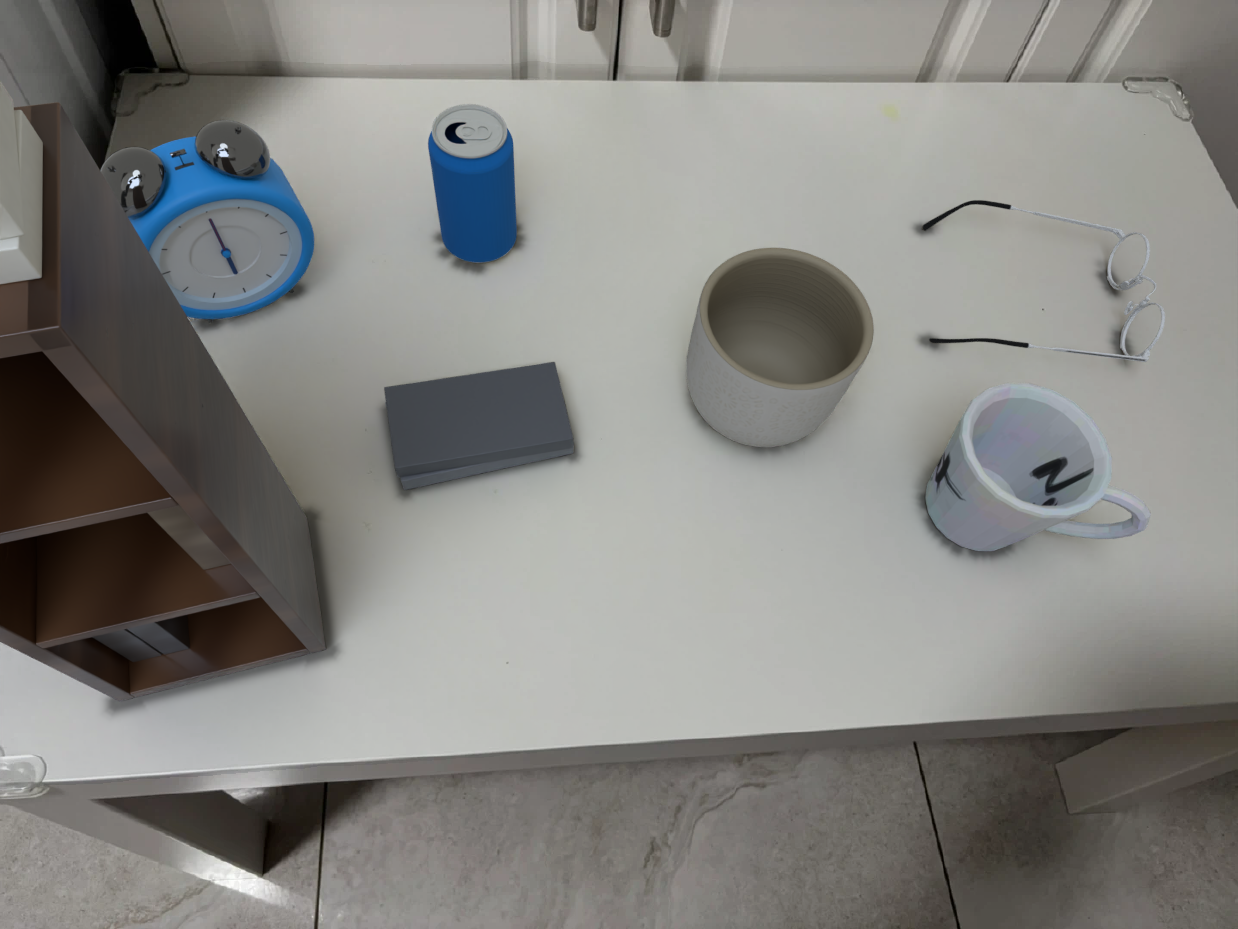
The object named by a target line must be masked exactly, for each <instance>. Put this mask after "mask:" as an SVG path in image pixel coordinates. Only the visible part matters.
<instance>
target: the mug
mask: <svg viewBox="0 0 1238 929" xmlns="http://www.w3.org/2000/svg"><path fill="white" fill-rule="evenodd" d="M1112 469H1113V457H1112V454H1111V450H1110V448H1109V445H1108V442H1107V439H1106V437H1105V435H1104V434H1103V432H1102V431H1101V428H1099V426H1098V425H1097V423H1096V422H1095V420H1094V418H1093V417H1092V416H1091V415H1089V414H1088V413H1087V411H1085V410H1084V409H1082V407H1081V406H1080V405H1078V403H1076V402H1075V401H1074V400H1072V399H1070V398H1069V397H1067V396H1065V395H1063V394H1061V393H1059V392H1058V391H1056V390H1054V389H1051V388H1048V387H1044V386H1041V385H1038V384H1034V383H1031V382H1005V383H1002V384H999V385H995V386H991V387H988V388H986V389H984V390H983V391H982V392H980V393H979V394H978V395H977V396H975V397H974V398H973V399H971V400H970V402H969V403H968V404H967V407H966V408H965V410H964V412H963V414H962V415H961V418H960V420H959V421H958V423H957V425H956V427H955V429H954V431H953V433H952V435H951V437H950V438H949V441H948V443H947V444H946V446H945V448H944V450H943V453H942V454H941V457H940V458H939V460H938V463H937V464H936V466H935V468H934V470H933V472H932V474H931V475H930V478H929V480H928V482H927V483H926V490H925V503H926V510H927V514H928V515H929V517H930V519H931V521H932V522H933V525H934V526H935V527H936V529H937V530H938V531H940V533H942V535H943V536H945V538H947V539H948V540H949V541H951V542H953V543H954V544H956V545H958V546H959V547H961V548H966V549H969V550H972V551H975V552H994V551H997V550H1000V549H1003V548H1006V547H1009V546H1011V545H1013V544H1015V543H1016V544H1017V543H1018V542H1021V541H1022V540H1025V539H1027V538H1029V537H1032V536H1034V535H1036V534H1038V533H1041V532H1043V531H1046V532H1050V533H1053V534H1057V535H1063V536H1068V537H1075V538H1080V539H1081V538H1082V539H1093V540H1094V539H1095V540H1115V539H1117V540H1118V539H1123V538H1127V537H1132V536H1134V535H1137V534H1139V533H1142V532H1144V531H1145V530H1146V529H1147V527H1148V525H1149V522H1150V518H1151V516H1152V514H1151V510H1150V509H1149V507H1148V506H1147V504H1146V503H1145V502H1144V500H1143V499H1141V498H1140V497H1139V496H1137V495H1135V494H1134V493H1132V492H1130V491H1128V490H1125V489H1124V488H1120V487H1117V486H1115V485H1111V484H1110V483H1111V481H1112V477H1113V476H1112V474H1113V473H1112V472H1113V471H1112ZM1101 500H1102V501H1105V502H1108V503H1111V504H1114V505H1116V506H1119V507H1121V508H1122V509H1123V510H1126V511H1127V512H1128V513H1130V515H1131V517H1130V518H1128V519H1126V520H1123V521H1116V522H1111V523H1093V522H1081V521H1073V520H1071V519H1073V518H1075V517H1077V516H1079V515H1080V516H1081V515H1082V514H1085V513H1086V512H1088V511H1089V510H1090V509H1092V508H1093V507H1094V506H1095V505H1097V503H1099V502H1100V501H1101Z"/></svg>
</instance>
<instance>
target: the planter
mask: <svg viewBox="0 0 1238 929" xmlns="http://www.w3.org/2000/svg"><path fill="white" fill-rule="evenodd" d="M874 327H875V326H874V318H873V315H872V311H871V308H870V305H869V303H868V301H867V300H866V297H865V295H864V294H863V292H862V291H861V289H860V288H859V287H858V285H857V284H856V283H855V282H854V281H853V280H852V279H851V278H850V277H849V276H848V275H847V274H846V273H844V272H843V271H842V270H841V269H839V268H838V267H837V266H835V265H834V264H832V263H830V262H829V261H826V260H825V259H824V258H821V257H819V256H816V255H814V254H812V253H808V252H805V251H802V250H797V249H794V248H793V249H792V248H788V247H787V248H785V247H761V248H755V249H751V250H746V251H743V252H741V253H738V254H736V255H733V256H731V257H730V258H728V259H727V260H725V261H724V262H722V263H721V264H720V265H718V266H717V267H716V268H715V269H714V270H713V271H712V272H711V274H710V275H709V276H708V278H707V279H706V281H705V282H704V285H703V287H702V290H701V292H700V296H699V300H698V304H697V308H696V312H695V317H694V321H693V325H692V328H691V332H690V336H689V337H690V338H689V342H688V347H687V353H686V361H685V363H686V364H685V375H686V376H685V377H686V383H687V388H688V391H689V392H688V393H689V395H690V397H691V400H692V402H693V404H694V406H695V408H696V411H697V412H698V413H699V415H700V416H701V417H702V418H703V420H704V421H705V422H706V423H707V424H708V425H709V426H710V427H711V428H712V429H714V430H715V431H716V432H718V434H720V435H722V436H724V437H725V438H727V439H728V440H731V441H733V442H735V443H739V444H741V445H745V446H749V447H756V448H775V447H781V446H785V445H790V444H792V443H795V442H798V441H799V440H801V439H803V438H806V437H807V436H808V435H810V434H812V433H813V432H815V431H816V430H817V429H818V428H819V427H820V426H822V424H823V423H825V421H826V420H827V419H828V418H829V417H830V416H831V415H832V413H833V412H834V410H835V409H836V407H837V406H838V404H839V403H840V402H841V400H842V399H843V397H844V396H845V394H846V392H847V391H848V389H849V387H850V386H851V384H852V382H854V379H855V378H856V376H857V375H858V373H859V371H860V370H861V368H862V366H863V365H864V363H865V362H866V359H867V358H868V356H869V353H870V351H871V349H872V346H873V342H874V333H875V332H874V330H875V328H874Z"/></svg>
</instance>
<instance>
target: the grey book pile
mask: <svg viewBox="0 0 1238 929" xmlns="http://www.w3.org/2000/svg"><path fill="white" fill-rule="evenodd" d="M383 391H384V399H385V407H386V413H387V421H388V429H389V436H390V443H391V450H392V451H391V452H392V456H393V457H392V458H393V465H394V470H395V473H396V476H397V477H396V478H400V483H401V486H402V489H403V491H407V490H412V489H416V488H417V489H418V488H420V487H426V486H430V485H434V484H439V483H440V484H441V483H443V482H448V481H449V482H450V481H453V480H458V479H461V478H462V479H463V478H467V477H472V476H476V475H480V474H486V473H489V472H494V471H495V472H496V471H498V470H505V469H507V468H513V467H517V466H522V465H526V464H530V463H535V462H540V461H544V460H549V459H550V460H551V459H554V458H560V457H563V456H568V455H572V454H574V449H575V443H574V435H573V431H572V427H571V423H570V419H569V418H570V417H569V415H568V411H567V405H566V402H565V398H564V394H563V390H562V385H561V381H560V377H559V372H558V369H557V365H556V361H550V362H543V363H536V364H530V365H523V366H517V367H509V368H503V369H497V370H490V371H483V372H476V373H470V374H469V373H468V374H464V375H457V376H449V377H443V378H442V377H441V378H435V379H431V380H430V379H429V380H423V381H416V382H409V383H403V384H396V385H390V386H384V387H383Z"/></svg>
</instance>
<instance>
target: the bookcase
mask: <svg viewBox="0 0 1238 929" xmlns="http://www.w3.org/2000/svg"><path fill="white" fill-rule="evenodd" d="M14 110H22V111H23V113H24V115H25V116H26V118H27V119H28V121H29V122H30V124H31V125H32V127H33V128H34V130H35V132H36V133H37V135H38V136H39V138H40V139H41V141H42V142H43V188H42V277H41V278H38V279H32V280H26V281H19V282H13V283H6V284H0V643H1V644H3V645H5V646H7V647H9V648H11V649H14V650H15V651H17V652H19V653H21V654H24V655H26V656H28V657H29V658H31V659H34V660H35V661H37V662H39V663H41V664H43V665H45V666H48V667H49V668H51V669H54V670H55V671H58V673H59V672H60V673H61V674H63V675H65V676H68V677H70V678H71V679H72V680H73V679H74V680H76V681H78V682H80V683H82V684H84V685H86V686H87V687H90V688H91V689H94V690H96V691H97V692H100V693H101V694H103V695H105V696H107V697H110V698H111V699H114V700H116V701H117V702H123V701H126V700H131V699H134V698H139V697H142V696H147V695H151V694H155V693H158V692H162V691H167V690H170V689H175V688H178V687H182V686H186V685H190V684H194V683H195V684H196V683H199V682H202V681H206V680H210V679H214V678H215V679H216V678H219V677H223V676H226V675H229V674H230V675H231V674H234V673H238V672H242V671H247V670H250V669H255V668H259V667H262V666H266V665H270V664H275V663H279V662H282V661H286V660H291V659H295V658H298V657H302V656H306V655H310V654H314V653H319V652H322V651H325V650H326V649H327V646H326V639H325V633H324V626H323V617H322V612H321V604H320V598H319V589H318V583H317V574H316V568H315V562H314V555H313V547H312V540H311V533H310V525H309V519H308V517H307V515H306V513H305V511H304V510H303V509H302V507H301V505H300V503H299V502H298V500H297V498H296V497H295V495H294V494H293V492H292V490H291V489H290V487H289V485H288V483H287V482H286V480H285V478H284V476H283V475H282V473H281V472H280V470H279V468H278V466H277V465H276V464H275V461H274V460H273V458H272V456H271V454H270V453H269V452H268V451H269V450H267V448H266V446H265V444H264V443H263V441H262V440H261V438H260V436H259V434H258V433H257V431H256V430H255V428H254V426H253V425H252V423H251V421H250V420H249V418H248V416H247V415H246V413H245V411H244V410H243V408H242V407H241V404H240V403H239V401H238V399H237V398H236V396H235V394H234V393H233V391H232V389H231V388H230V386H229V383H228V382H227V381H226V379H225V378H224V376H223V374H222V372H221V371H220V369H219V368H218V366H217V364H216V363H215V361H214V359H213V357H212V356H211V354H210V353H209V351H208V349H207V348H206V345H205V344H204V342H203V341H202V339H201V338H200V336H199V334H198V332H197V331H196V329H195V327H194V326H193V324H192V322H191V320H190V319H189V317H187V316H186V314H185V312H184V311H183V309H182V307H181V306H180V304H179V302H178V300H177V299H176V297H175V295H174V294H173V292H172V290H171V289H170V287H169V285H168V284H167V282H166V280H165V279H164V277H163V275H162V274H161V272H160V270H159V269H158V267H157V265H156V264H155V262H154V260H153V259H152V257H151V255H150V254H149V252H148V250H147V248H146V247H145V245H144V243H143V242H142V240H141V238H140V237H139V235H138V233H137V232H136V230H135V228H134V227H133V225H132V223H131V222H130V220H129V218H128V217H127V215H126V213H125V212H124V210H123V208H122V207H121V205H120V203H119V201H118V200H117V198H116V196H115V195H114V193H113V191H112V190H111V188H110V186H109V185H108V183H107V181H106V180H105V178H104V176H103V175H102V173H101V171H100V170H101V169H100V168H99V166H98V164H97V163H96V162H95V160H94V157H93V156H92V154H91V153H90V151H89V149H88V147H87V146H86V144H85V142H84V141H83V140H82V138H81V136H80V135H79V132H78V131H77V129H76V127H75V126H74V124H73V122H72V120H71V119H70V117H69V116H68V114H67V113H66V111H65V109H64V107H63V105H62V104H61V102H59V101H55V102H46V103H38V104H37V103H36V104H30V105H21V106H14Z"/></svg>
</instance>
